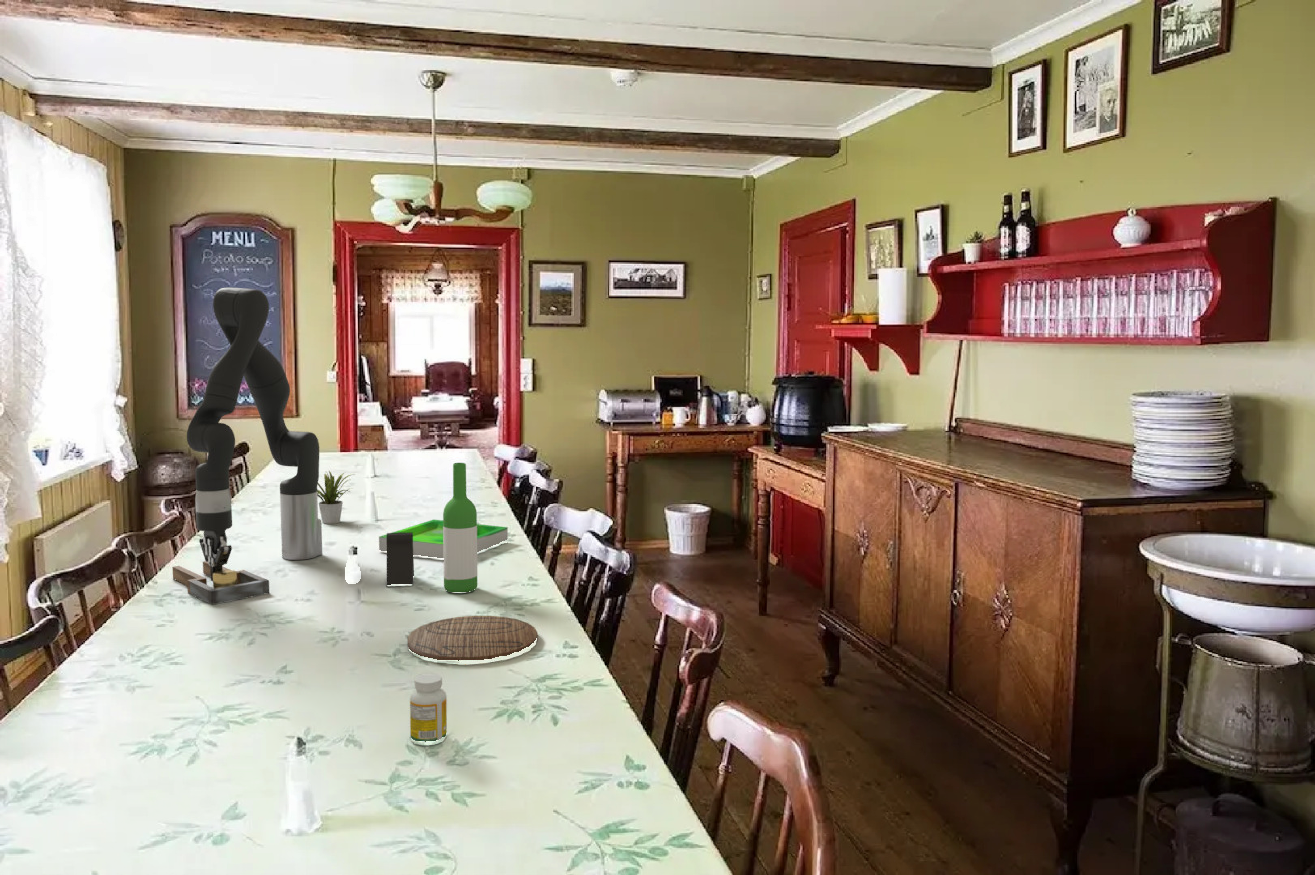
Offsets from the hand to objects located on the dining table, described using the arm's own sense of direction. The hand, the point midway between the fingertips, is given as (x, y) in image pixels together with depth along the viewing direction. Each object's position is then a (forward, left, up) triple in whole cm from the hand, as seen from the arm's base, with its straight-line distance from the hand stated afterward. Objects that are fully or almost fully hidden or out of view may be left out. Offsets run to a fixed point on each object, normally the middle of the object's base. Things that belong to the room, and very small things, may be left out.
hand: (216, 581), depth 223 cm
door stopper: (-33, +25, -2) cm, 41 cm away
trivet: (-19, +73, -2) cm, 75 cm away
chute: (0, -1, -2) cm, 2 cm away
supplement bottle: (+12, +104, -2) cm, 105 cm away
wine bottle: (-39, +41, -2) cm, 57 cm away
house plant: (-56, -48, -2) cm, 74 cm away
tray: (-61, +3, -2) cm, 61 cm away
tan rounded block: (0, +5, -2) cm, 5 cm away
